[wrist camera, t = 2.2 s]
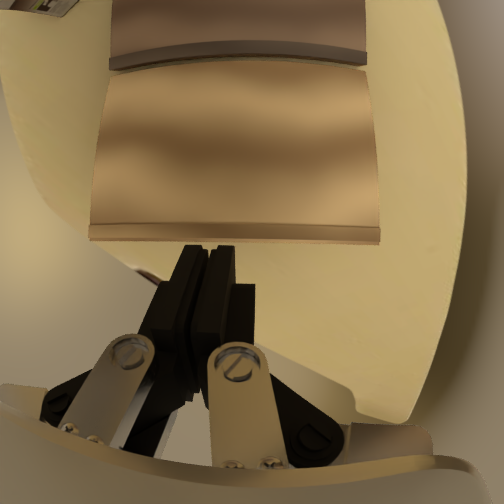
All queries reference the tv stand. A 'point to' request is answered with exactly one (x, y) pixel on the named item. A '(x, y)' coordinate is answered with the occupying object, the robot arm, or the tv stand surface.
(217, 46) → the walnut board
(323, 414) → the robot arm
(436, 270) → the tv stand surface
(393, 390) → the tv stand surface
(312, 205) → the oak plank
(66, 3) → the coffee box
